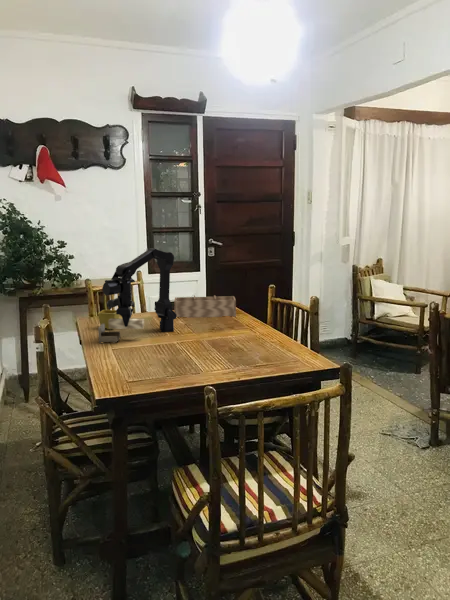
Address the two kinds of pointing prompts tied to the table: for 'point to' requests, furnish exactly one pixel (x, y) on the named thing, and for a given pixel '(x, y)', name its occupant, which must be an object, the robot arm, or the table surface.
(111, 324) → the rail
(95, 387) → the table surface
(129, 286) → the robot arm
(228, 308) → the holder
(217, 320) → the table surface
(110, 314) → the flower pot
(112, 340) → the bracket
